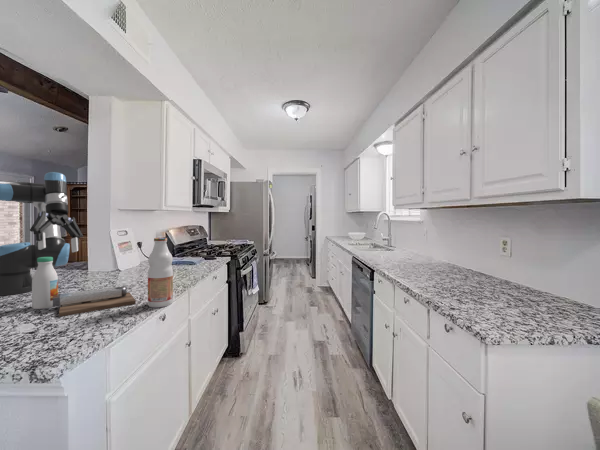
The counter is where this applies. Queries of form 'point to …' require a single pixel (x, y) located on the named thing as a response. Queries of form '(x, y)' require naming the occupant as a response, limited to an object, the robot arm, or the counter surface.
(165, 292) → the fruit juice
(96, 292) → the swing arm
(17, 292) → the robot arm
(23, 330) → the counter surface
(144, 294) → the counter surface
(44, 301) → the milk bottle
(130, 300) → the label board
